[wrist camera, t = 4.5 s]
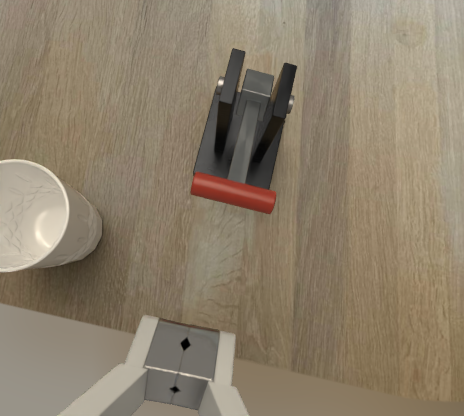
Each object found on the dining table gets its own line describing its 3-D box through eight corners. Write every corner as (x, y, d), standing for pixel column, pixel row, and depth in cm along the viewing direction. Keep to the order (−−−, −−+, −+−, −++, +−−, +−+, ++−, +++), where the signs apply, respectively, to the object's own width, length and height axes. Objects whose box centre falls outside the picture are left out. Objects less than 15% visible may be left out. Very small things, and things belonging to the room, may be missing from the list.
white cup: (16, 261, 31) (-70, 260, 22) (39, 183, 33) (-31, 149, 23) (98, 276, 32) (51, 281, 22) (117, 198, 33) (81, 170, 23)
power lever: (266, 222, 20) (277, 200, 18) (188, 203, 20) (191, 179, 18) (282, 104, 28) (291, 80, 26) (224, 89, 27) (229, 63, 25)
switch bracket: (266, 194, 35) (298, 159, 23) (193, 176, 34) (188, 131, 23) (285, 110, 37) (323, 38, 25) (215, 91, 36) (221, 10, 25)
